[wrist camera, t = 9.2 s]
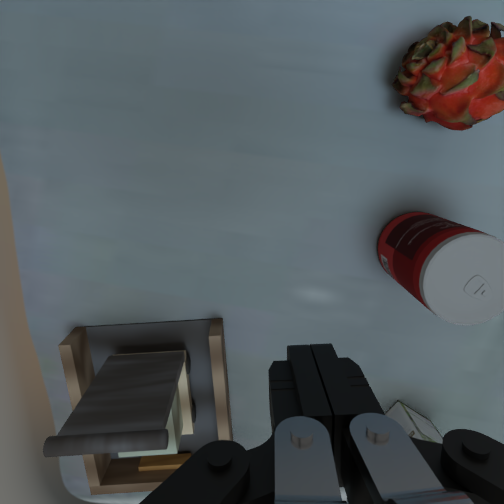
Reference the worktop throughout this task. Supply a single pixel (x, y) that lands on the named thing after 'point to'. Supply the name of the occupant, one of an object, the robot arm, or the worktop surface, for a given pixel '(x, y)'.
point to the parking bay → (201, 386)
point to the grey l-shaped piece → (131, 408)
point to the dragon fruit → (454, 74)
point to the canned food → (445, 266)
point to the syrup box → (414, 423)
